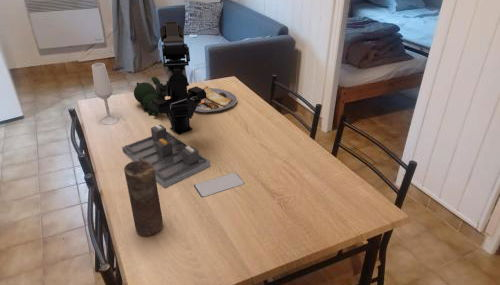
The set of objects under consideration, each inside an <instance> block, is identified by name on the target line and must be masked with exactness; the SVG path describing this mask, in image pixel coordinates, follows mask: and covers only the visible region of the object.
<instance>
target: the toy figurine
mask: <svg viewBox="0 0 500 285" xmlns="http://www.w3.org/2000/svg"><path fill="white" fill-rule="evenodd" d="M151 81H152V82H153V84H154V85H152V84H151V83H150V82H145V81H143V82H136V86H135V87H134V90H133V97H134V98H135V100H136V101H137V102H138V103H140V106H142V110H143V111H144V112H147V111H148V112H147V114H148V115H149V116H152V115H153V116H154V117H158V116H159V114H160V113H158V112H157V111H155V110H154V109H152V108H151V104H150V103H151V101H152V100H154V99H157V98H160V97H162V98H163V99H165V100H166V97H167V96H166V94H164V95H162V93H157V91H156V87H154V86H156V84H159V83H161V81H160V79H159V78H158V77H157V76H152V77H151ZM161 114H162V115H166V114H165V113H164V112H163V113H161Z"/></svg>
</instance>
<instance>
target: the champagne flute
mask: <svg viewBox="0 0 500 285" xmlns="http://www.w3.org/2000/svg"><path fill="white" fill-rule="evenodd" d="M91 71H92V78H93V79H92V81H93V87H94V88H93V89H94V94H95V95H96V97H98V98H99V99H101V100H103V103H104V106H105V110H106V115H107V116H106V117H104V118H103V119H102V120H101V123H102V124H103V125H112V124H113V125H114V124H115V123H117V122H118V121H119V118H118V117H116V116H111V113H110V108H109V103H108V102H109V101H108V99H109V98H110V97H111V96H112V94H113V91H114V90H113V88H112V84H111V80H110V77H109V74H108V71H107V67H106V64H105V63H103V62H96V63H93V64H91Z"/></svg>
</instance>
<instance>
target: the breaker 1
mask: <svg viewBox="0 0 500 285" xmlns="http://www.w3.org/2000/svg"><path fill="white" fill-rule="evenodd" d="M166 131H167V128H166V127H165V126H163V125H162V124H154V126H153V127H150V132H151V133H150V134H151V136H152V139H154V140H155V141H156V142H158V141H159V139H167V132H168V131H167V132H166Z"/></svg>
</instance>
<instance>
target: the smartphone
mask: <svg viewBox="0 0 500 285" xmlns="http://www.w3.org/2000/svg"><path fill="white" fill-rule="evenodd" d="M242 185H245V181H244V180H243V179H242V178H241V177H240V176H239V174H238V173H237V172H231V173H228V174H224V175H222V176H218V177H215V178H212V179H209V180H205V181H202V182H198V183H196V184H193V186H194V189H195V190H196V191H197V193H198V194H199V196H200V197H201V198H205V197H209V196H211V195H212V196H213V195H215V194H217V193H221V192H224V191H227V190H231V189H234V188H237V187H240V186H242Z"/></svg>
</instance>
